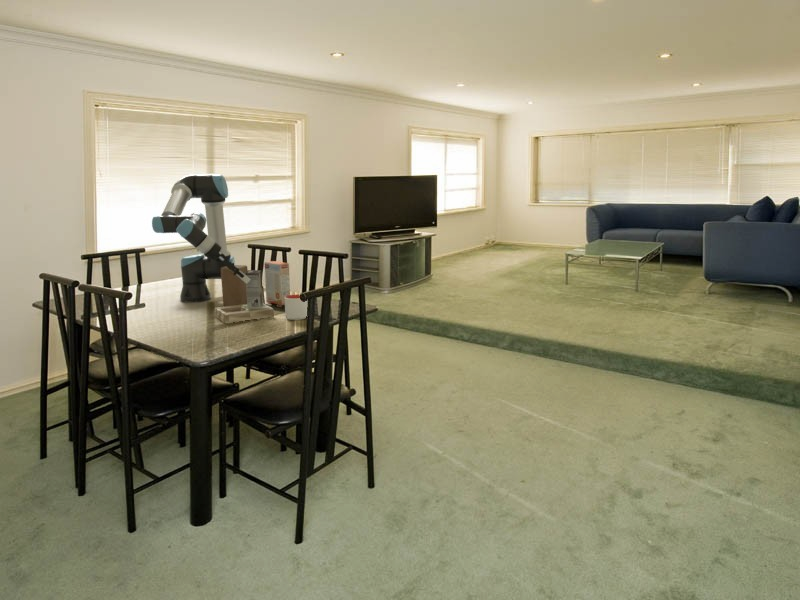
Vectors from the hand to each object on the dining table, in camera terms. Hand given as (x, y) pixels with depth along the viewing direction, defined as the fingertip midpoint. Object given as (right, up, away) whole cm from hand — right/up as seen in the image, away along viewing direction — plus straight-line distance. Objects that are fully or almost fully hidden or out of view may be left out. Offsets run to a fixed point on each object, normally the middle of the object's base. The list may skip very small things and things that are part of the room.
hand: (245, 279), depth 266 cm
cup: (+23, -18, -1) cm, 29 cm away
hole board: (-1, -17, +3) cm, 17 cm away
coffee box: (+3, -12, +5) cm, 14 cm away
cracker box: (+8, -11, +32) cm, 35 cm away
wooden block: (-11, -13, +26) cm, 31 cm away
